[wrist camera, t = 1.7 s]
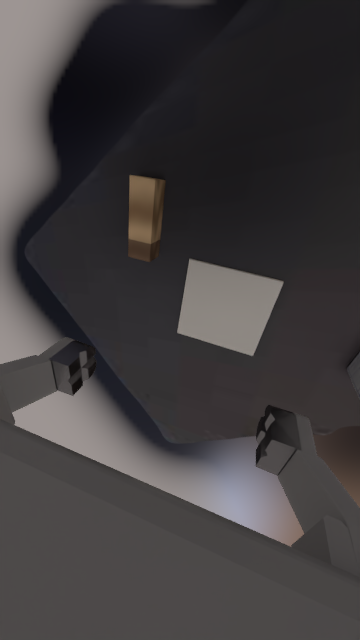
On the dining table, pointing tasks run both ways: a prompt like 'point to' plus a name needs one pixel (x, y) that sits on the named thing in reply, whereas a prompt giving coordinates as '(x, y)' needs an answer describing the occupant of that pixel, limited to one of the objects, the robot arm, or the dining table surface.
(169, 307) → the dining table surface
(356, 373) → the medicine box
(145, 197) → the wooden block
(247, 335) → the mat
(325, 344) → the dining table surface
